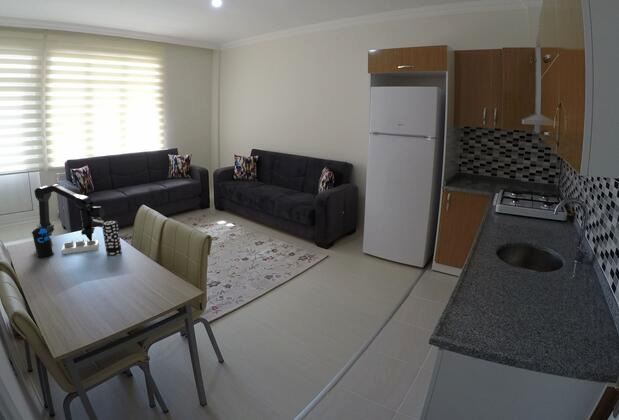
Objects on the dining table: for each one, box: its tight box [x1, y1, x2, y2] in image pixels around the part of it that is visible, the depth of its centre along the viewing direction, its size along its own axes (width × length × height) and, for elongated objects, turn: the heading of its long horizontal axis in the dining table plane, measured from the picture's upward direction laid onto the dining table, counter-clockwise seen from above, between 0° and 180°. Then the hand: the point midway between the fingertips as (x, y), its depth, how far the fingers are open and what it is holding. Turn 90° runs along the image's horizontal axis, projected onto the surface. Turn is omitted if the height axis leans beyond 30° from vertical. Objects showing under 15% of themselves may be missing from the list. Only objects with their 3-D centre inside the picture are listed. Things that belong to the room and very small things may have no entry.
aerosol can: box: [31, 223, 55, 259], centre depth 215 cm, size 8×8×20 cm
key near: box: [63, 240, 74, 248], centre depth 224 cm, size 4×4×3 cm
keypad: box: [61, 239, 100, 255], centre depth 228 cm, size 19×9×3 cm, turn 116°
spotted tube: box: [101, 220, 123, 257], centre depth 219 cm, size 8×8×20 cm
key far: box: [86, 238, 96, 245], centre depth 230 cm, size 4×4×3 cm
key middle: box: [75, 238, 85, 246], centre depth 227 cm, size 4×4×3 cm
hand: (90, 240), depth 229 cm, fingers closed, pressing on key far
